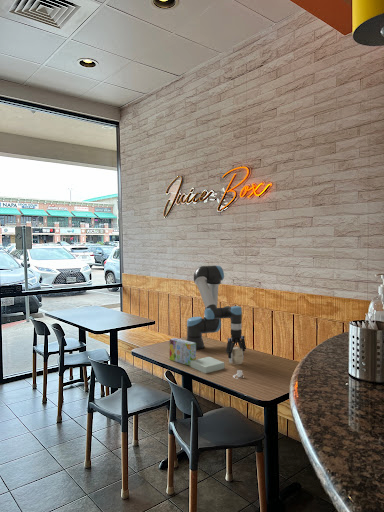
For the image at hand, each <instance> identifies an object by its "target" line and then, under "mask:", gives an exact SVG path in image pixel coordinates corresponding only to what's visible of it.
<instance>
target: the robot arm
mask: <svg viewBox="0 0 384 512" xmlns="http://www.w3.org/2000/svg"><path fill="white" fill-rule="evenodd" d="M224 273H225V272H224V270H223V268H222V266H220V265H201V266H199V267H198V268H196V269H195V272H194V273H193V282H194V284H195V285H196V286H197V288H198V292H199V294H200V296H201V297H200V298H201V300H202V302H203V304H204V307H205V309H204V313H203V317H202V316H191V317H189V318H187V320H186V338H185V339H186V341H190V342H194V343H196V351H198V350H202V349H204V348H205V343H204V340H203V334H213V333H218V332H219V331H220V330H221V327H222V322H221V319H230V335H231V336H230V337H227V344H226V349H225V353H226V354H227V355H228V363H229V364H232V350H233V348H234V347H235V345H236V344H238V346H239V347H238V348H241V349H242V362H243V361H244V356H245V351H246V350H247V345H246V341H245V340H246V339H245V338H246V337H245V335H243V334H242V332H243V330H242V327H243V325H242V323H243V309H242V308H243V307H241V306H239V305H233V306H229V305H228V306H227V305H226V306H224V307H218V300H219V299H218V298H219V286H220V284H221V283H222V281H223V280H224V278H225V274H224Z"/></svg>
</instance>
